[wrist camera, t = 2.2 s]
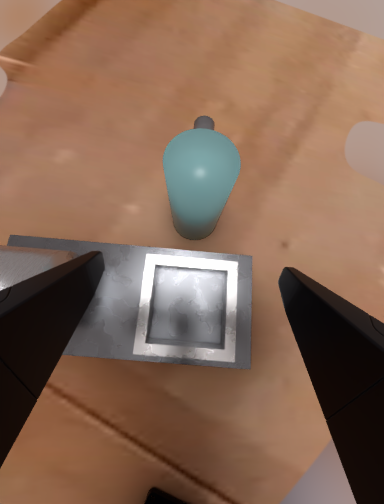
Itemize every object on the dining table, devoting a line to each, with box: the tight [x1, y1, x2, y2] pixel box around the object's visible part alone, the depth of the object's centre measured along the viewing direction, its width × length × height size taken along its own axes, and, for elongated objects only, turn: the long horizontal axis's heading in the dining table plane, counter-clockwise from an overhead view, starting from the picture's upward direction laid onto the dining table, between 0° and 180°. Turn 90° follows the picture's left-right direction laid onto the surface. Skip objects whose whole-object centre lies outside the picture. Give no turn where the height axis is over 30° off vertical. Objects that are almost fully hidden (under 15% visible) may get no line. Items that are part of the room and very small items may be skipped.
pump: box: [163, 116, 241, 240], centre depth 19 cm, size 8×6×11 cm
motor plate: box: [0, 235, 252, 369], centre depth 16 cm, size 28×12×11 cm, turn 85°
